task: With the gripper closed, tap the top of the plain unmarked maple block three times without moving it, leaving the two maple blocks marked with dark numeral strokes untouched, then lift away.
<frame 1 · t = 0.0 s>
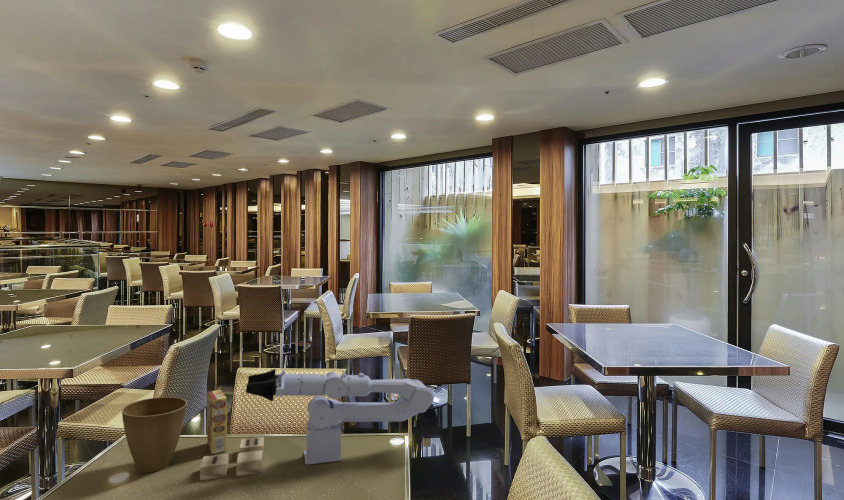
hand: (247, 384, 124), 22 cm above the table, tool horizontal, fingers open, 7 cm apart
plant pot: (154, 466, 123), on the table
candy box: (216, 448, 135), on the table
plain block: (249, 469, 122), on the table
numbered block eleven: (251, 454, 131), on the table
numbered block one: (214, 473, 120), on the table
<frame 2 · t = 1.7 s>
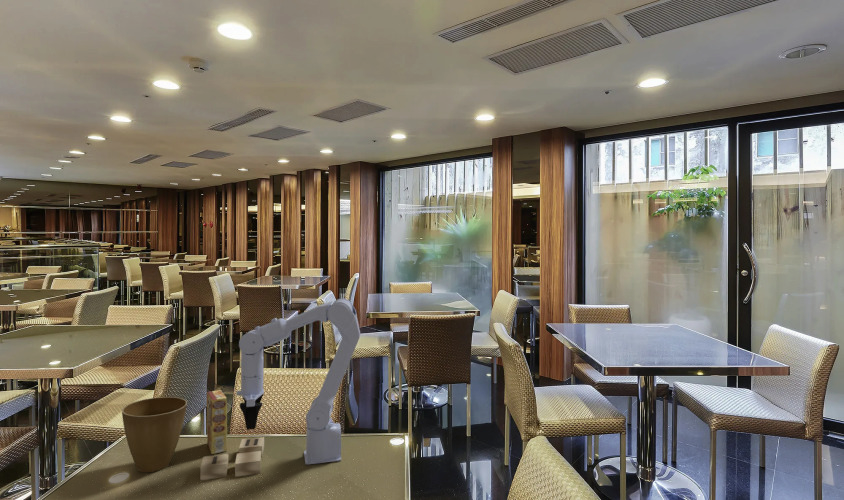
hand: (251, 424, 128), 9 cm above the table, tool pointing down, fingers open, 6 cm apart
nothing on the table moved.
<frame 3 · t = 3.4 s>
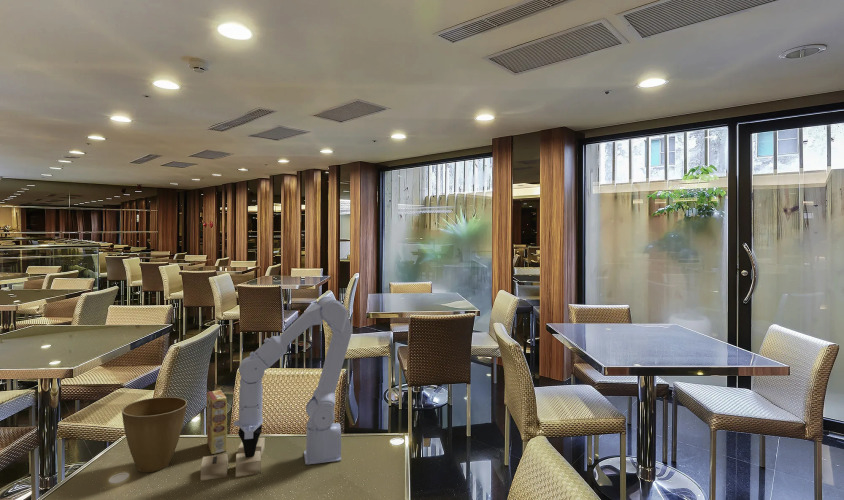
hand: (250, 455, 122), 3 cm above the table, tool pointing down, fingers closed
nothing on the table moved.
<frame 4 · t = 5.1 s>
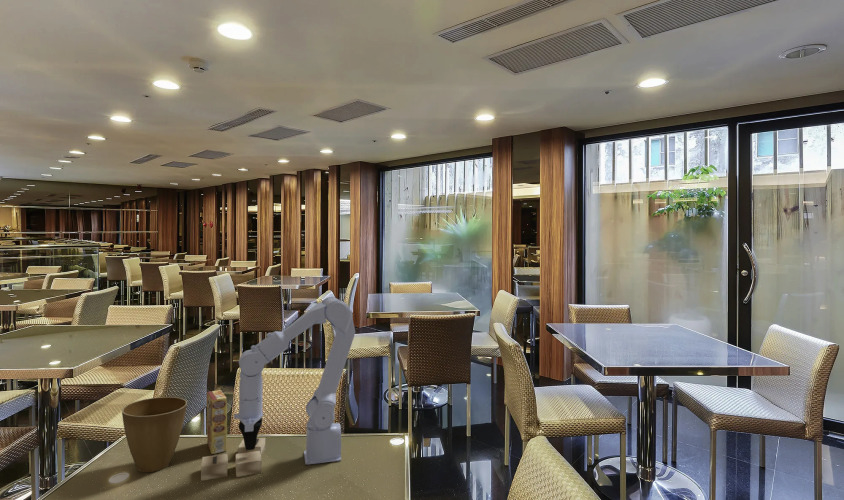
hand: (250, 448, 122), 5 cm above the table, tool pointing down, fingers closed
nothing on the table moved.
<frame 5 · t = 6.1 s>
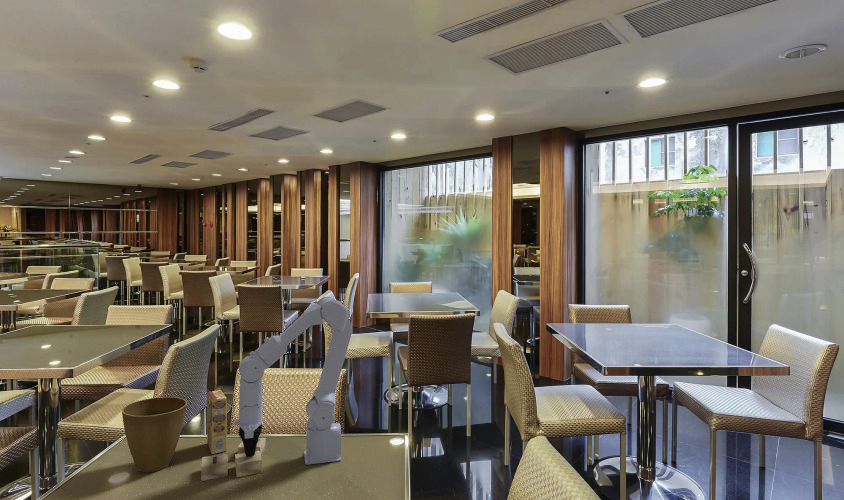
hand: (250, 455, 122), 4 cm above the table, tool pointing down, fingers closed
nothing on the table moved.
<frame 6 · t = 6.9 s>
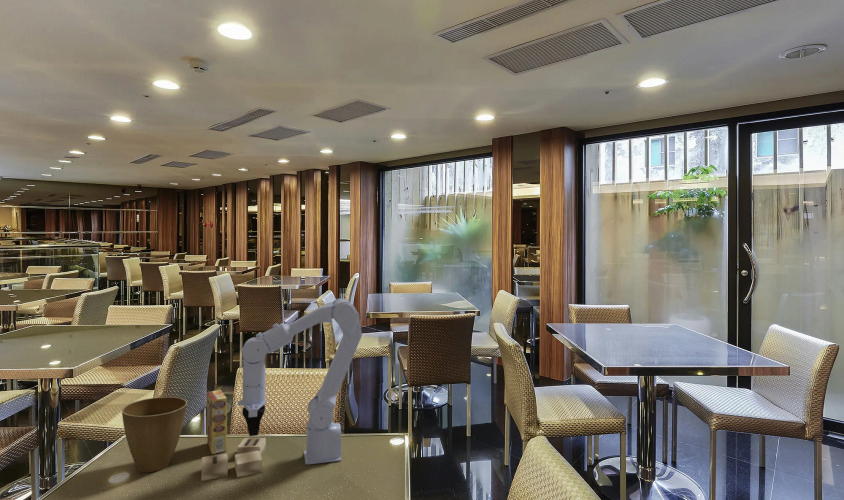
hand: (253, 434, 124), 8 cm above the table, tool pointing down, fingers closed
nothing on the table moved.
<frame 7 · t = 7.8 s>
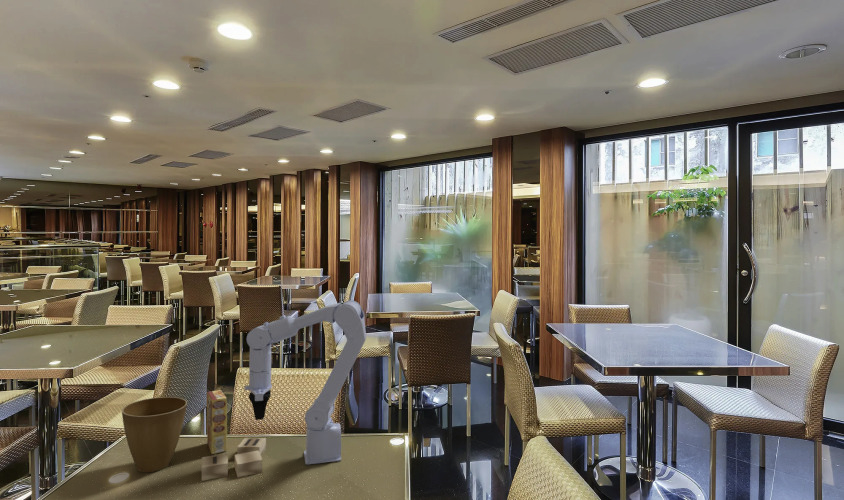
hand: (259, 418, 129), 10 cm above the table, tool pointing down, fingers closed
nothing on the table moved.
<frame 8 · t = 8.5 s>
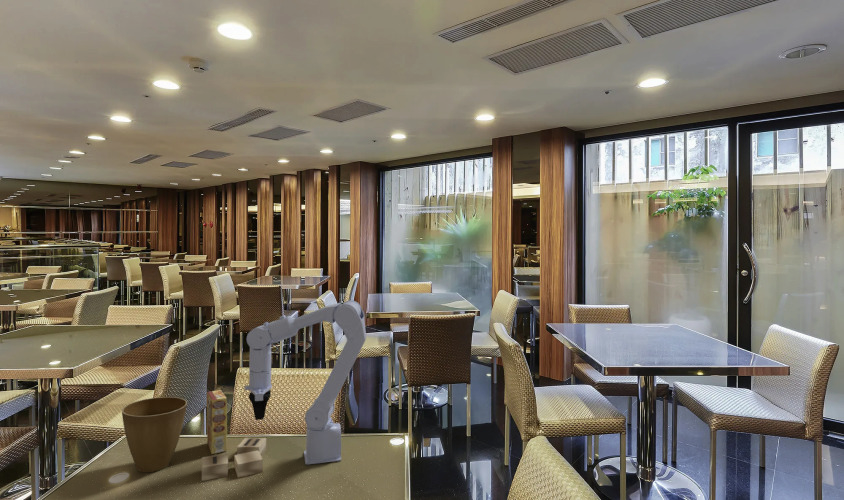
hand: (259, 418, 129), 10 cm above the table, tool pointing down, fingers closed
nothing on the table moved.
at the end: plain block moved 0.6 cm from its start; numbered block one moved 0.3 cm from its start; numbered block eleven moved 0.3 cm from its start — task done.
